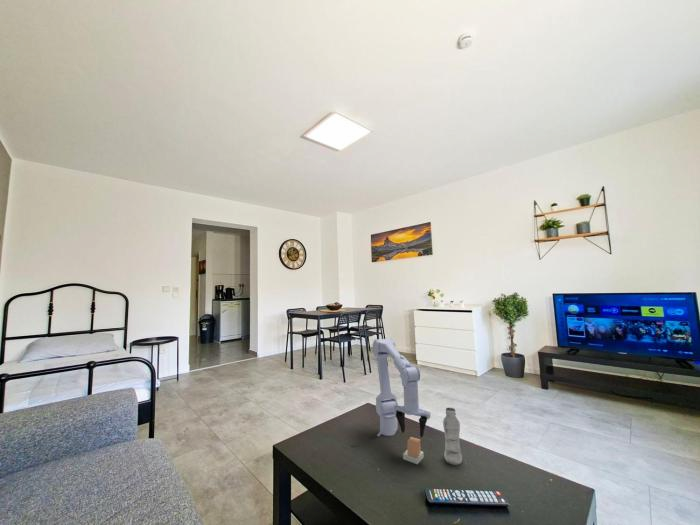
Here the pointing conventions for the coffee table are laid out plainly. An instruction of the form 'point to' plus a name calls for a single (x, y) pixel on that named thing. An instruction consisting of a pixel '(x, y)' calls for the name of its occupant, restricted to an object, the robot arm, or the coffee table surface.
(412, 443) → the block
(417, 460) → the top slab
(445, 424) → the plastic bottle
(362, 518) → the coffee table surface
